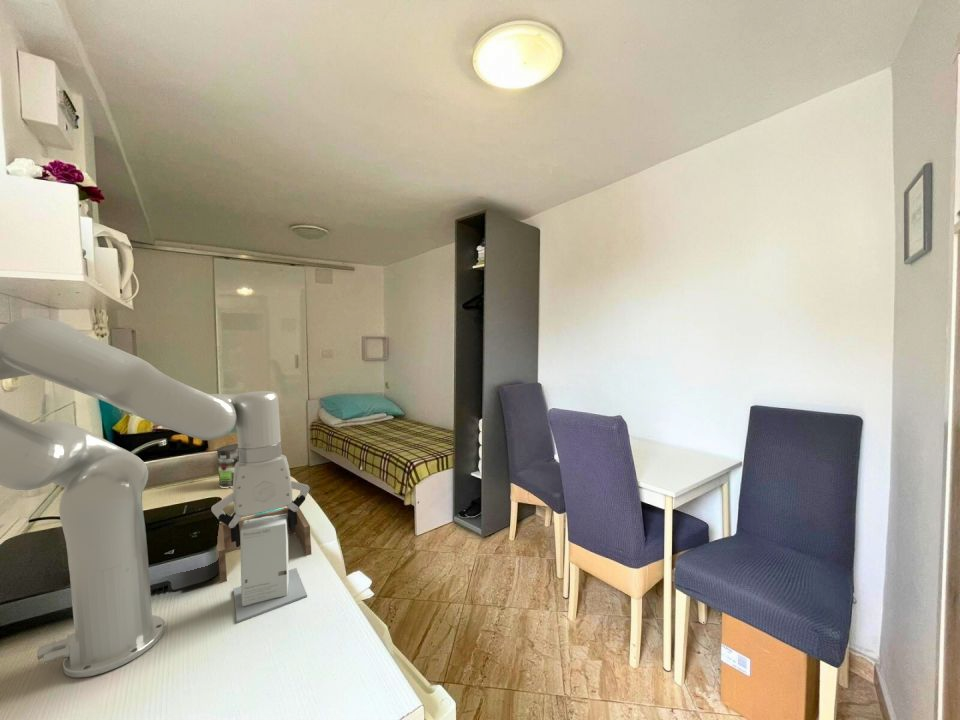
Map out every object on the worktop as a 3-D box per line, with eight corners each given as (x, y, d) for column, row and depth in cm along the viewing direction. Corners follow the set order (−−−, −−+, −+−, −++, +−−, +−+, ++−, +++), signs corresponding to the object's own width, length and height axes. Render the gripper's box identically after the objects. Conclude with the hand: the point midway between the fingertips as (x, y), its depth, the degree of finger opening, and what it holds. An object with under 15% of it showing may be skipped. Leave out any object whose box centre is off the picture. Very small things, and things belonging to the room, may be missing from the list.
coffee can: (237, 489, 141) (234, 450, 141) (212, 488, 143) (209, 450, 142) (257, 479, 151) (255, 443, 151) (234, 478, 153) (232, 443, 152)
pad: (236, 623, 71) (236, 621, 71) (233, 590, 81) (233, 588, 81) (307, 596, 78) (307, 594, 78) (296, 569, 88) (296, 567, 88)
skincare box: (241, 608, 75) (236, 532, 74) (246, 590, 80) (241, 519, 79) (290, 595, 78) (285, 522, 77) (291, 578, 83) (287, 511, 83)
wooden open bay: (220, 583, 84) (218, 551, 83) (218, 552, 97) (217, 524, 96) (311, 553, 94) (309, 525, 94) (299, 529, 107) (297, 504, 107)
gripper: (208, 466, 70) (214, 559, 71) (310, 448, 80) (315, 530, 81) (208, 457, 76) (214, 542, 77) (303, 442, 86) (307, 517, 87)
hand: (265, 536), depth 79 cm, fingers open, 9 cm apart
